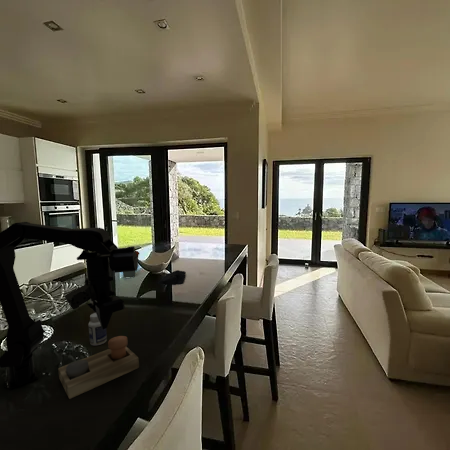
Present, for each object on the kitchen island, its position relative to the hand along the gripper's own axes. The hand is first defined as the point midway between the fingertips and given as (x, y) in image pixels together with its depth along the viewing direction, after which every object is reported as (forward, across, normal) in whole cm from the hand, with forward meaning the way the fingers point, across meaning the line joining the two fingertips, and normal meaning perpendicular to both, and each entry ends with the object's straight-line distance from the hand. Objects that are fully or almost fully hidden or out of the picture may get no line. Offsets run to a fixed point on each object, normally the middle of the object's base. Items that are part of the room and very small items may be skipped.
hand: (104, 328), depth 78 cm
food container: (+12, -118, +52) cm, 130 cm away
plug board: (+12, -1, -2) cm, 13 cm away
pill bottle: (+13, -19, +3) cm, 23 cm away
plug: (+12, 0, -8) cm, 15 cm away
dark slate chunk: (+14, -66, +59) cm, 90 cm away
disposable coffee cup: (+12, -91, +42) cm, 101 cm away
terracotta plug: (+10, -1, +3) cm, 10 cm away
